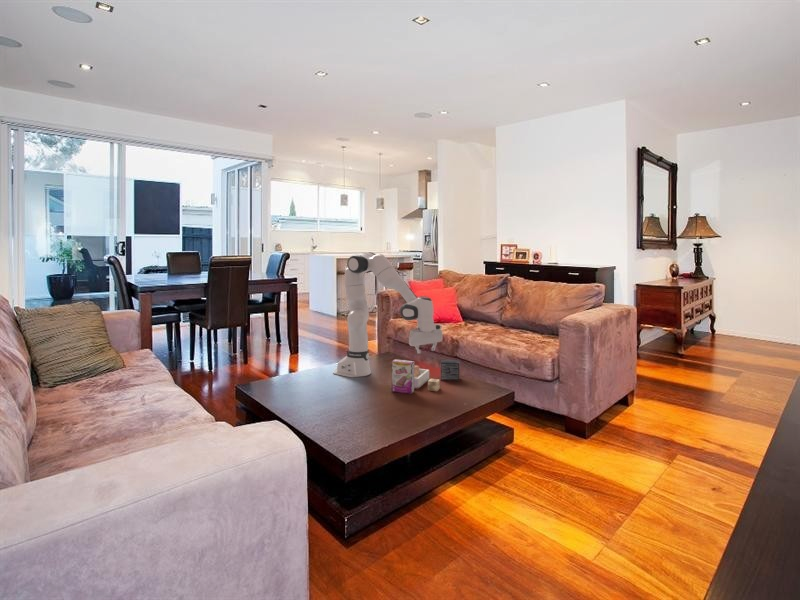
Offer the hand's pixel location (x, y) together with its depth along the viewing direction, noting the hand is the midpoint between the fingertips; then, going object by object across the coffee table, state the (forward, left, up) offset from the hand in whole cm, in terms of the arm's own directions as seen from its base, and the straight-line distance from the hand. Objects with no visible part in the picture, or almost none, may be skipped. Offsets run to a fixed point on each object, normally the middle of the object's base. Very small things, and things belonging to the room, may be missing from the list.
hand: (426, 352), depth 244 cm
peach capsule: (-9, +6, -18) cm, 21 cm away
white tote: (-9, +2, -19) cm, 21 cm away
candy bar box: (-8, -15, -19) cm, 25 cm away
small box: (+9, +16, -19) cm, 26 cm away
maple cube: (+6, -5, -19) cm, 20 cm away
